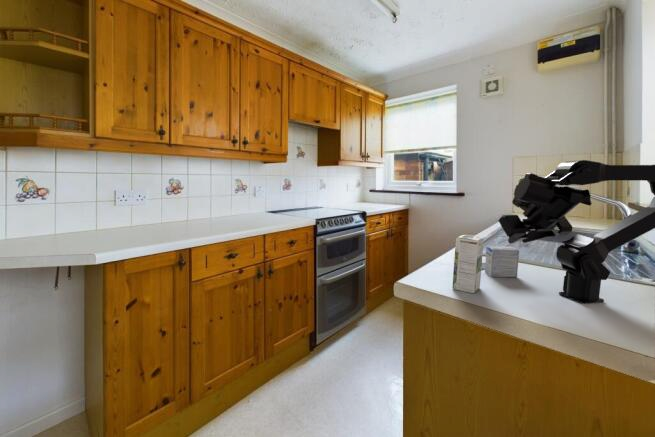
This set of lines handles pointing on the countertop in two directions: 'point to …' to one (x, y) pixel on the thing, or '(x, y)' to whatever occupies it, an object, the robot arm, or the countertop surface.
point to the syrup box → (468, 263)
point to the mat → (483, 266)
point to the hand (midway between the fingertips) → (516, 241)
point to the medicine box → (501, 261)
